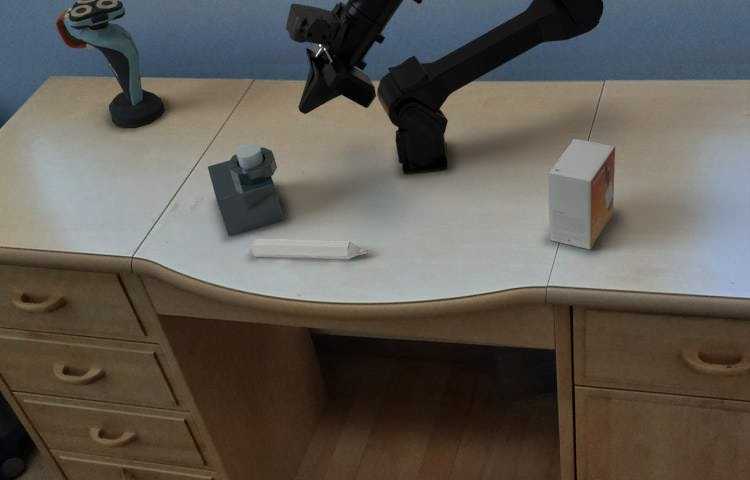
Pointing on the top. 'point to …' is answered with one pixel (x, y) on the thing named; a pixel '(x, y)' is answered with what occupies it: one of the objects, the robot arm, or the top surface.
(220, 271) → the top surface
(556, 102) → the top surface
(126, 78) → the electric shaver
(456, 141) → the top surface
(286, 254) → the pale grey rod
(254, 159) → the pale grey disc
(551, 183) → the small box
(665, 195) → the top surface
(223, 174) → the push button box
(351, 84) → the robot arm
